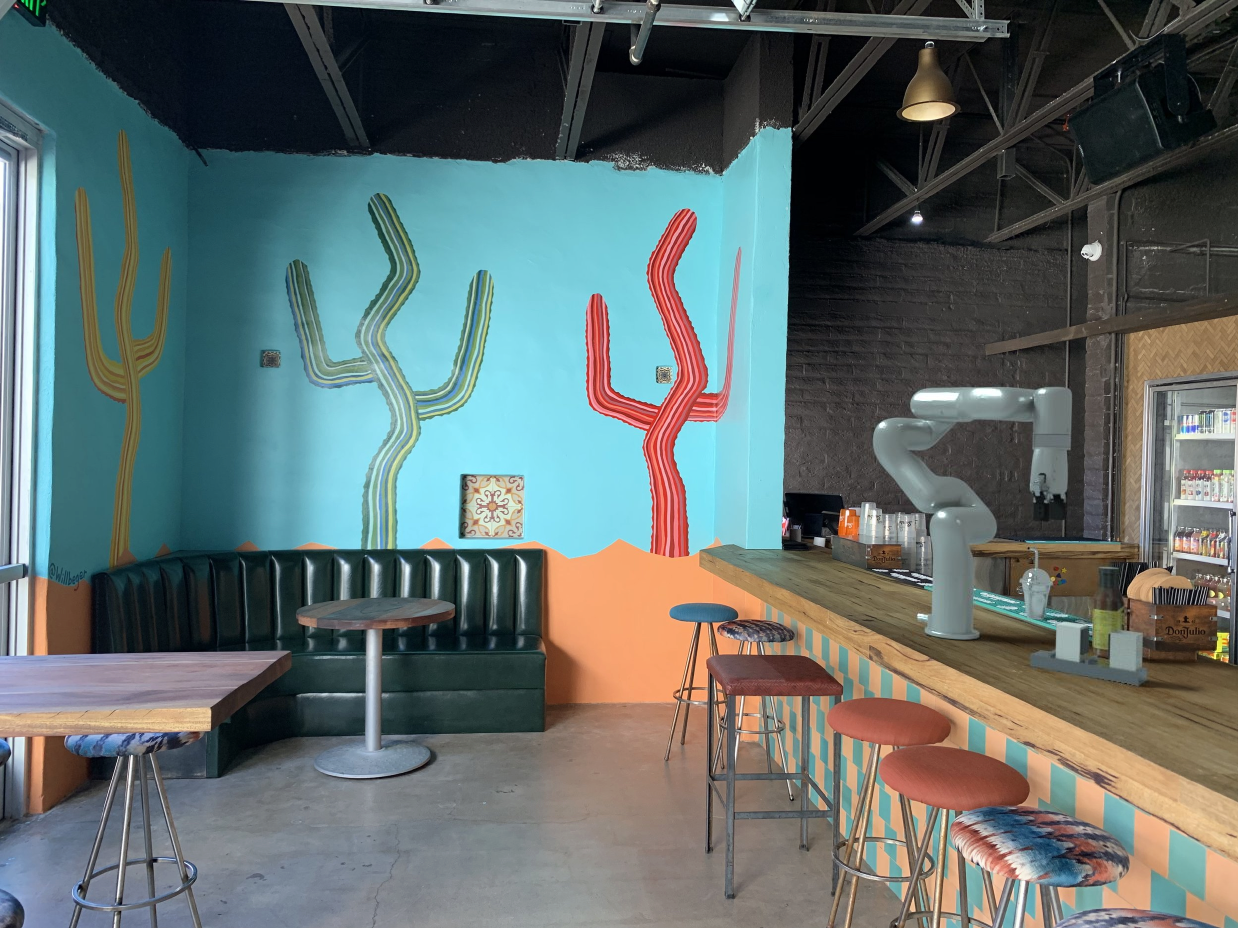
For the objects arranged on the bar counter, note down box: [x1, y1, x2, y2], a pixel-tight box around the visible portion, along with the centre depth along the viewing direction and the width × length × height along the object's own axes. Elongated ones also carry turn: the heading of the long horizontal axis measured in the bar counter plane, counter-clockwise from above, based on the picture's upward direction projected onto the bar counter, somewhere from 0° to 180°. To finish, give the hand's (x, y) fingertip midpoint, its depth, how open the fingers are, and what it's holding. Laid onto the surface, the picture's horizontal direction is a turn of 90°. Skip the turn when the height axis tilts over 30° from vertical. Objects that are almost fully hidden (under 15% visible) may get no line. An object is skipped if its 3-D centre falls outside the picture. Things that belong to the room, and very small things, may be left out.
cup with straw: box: [1018, 547, 1054, 621], centre depth 232 cm, size 8×9×20 cm
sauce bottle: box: [1092, 566, 1126, 659], centre depth 188 cm, size 7×6×20 cm
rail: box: [1029, 630, 1148, 687], centre depth 172 cm, size 20×6×10 cm, turn 44°
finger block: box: [1055, 621, 1090, 662], centre depth 174 cm, size 5×4×7 cm
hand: (1049, 520), depth 186 cm, fingers open, 9 cm apart
